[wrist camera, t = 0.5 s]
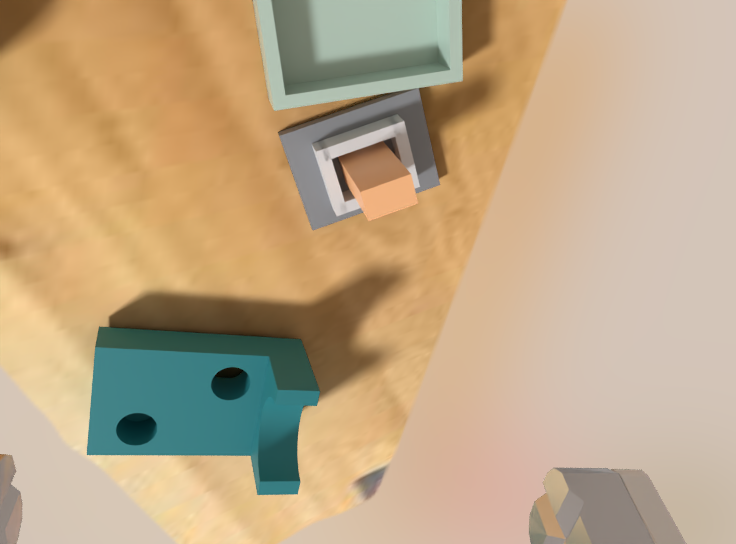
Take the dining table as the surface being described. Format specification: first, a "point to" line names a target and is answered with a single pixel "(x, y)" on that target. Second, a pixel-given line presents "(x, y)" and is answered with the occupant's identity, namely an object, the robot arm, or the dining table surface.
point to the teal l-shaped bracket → (202, 399)
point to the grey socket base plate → (347, 134)
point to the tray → (356, 47)
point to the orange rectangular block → (378, 180)
